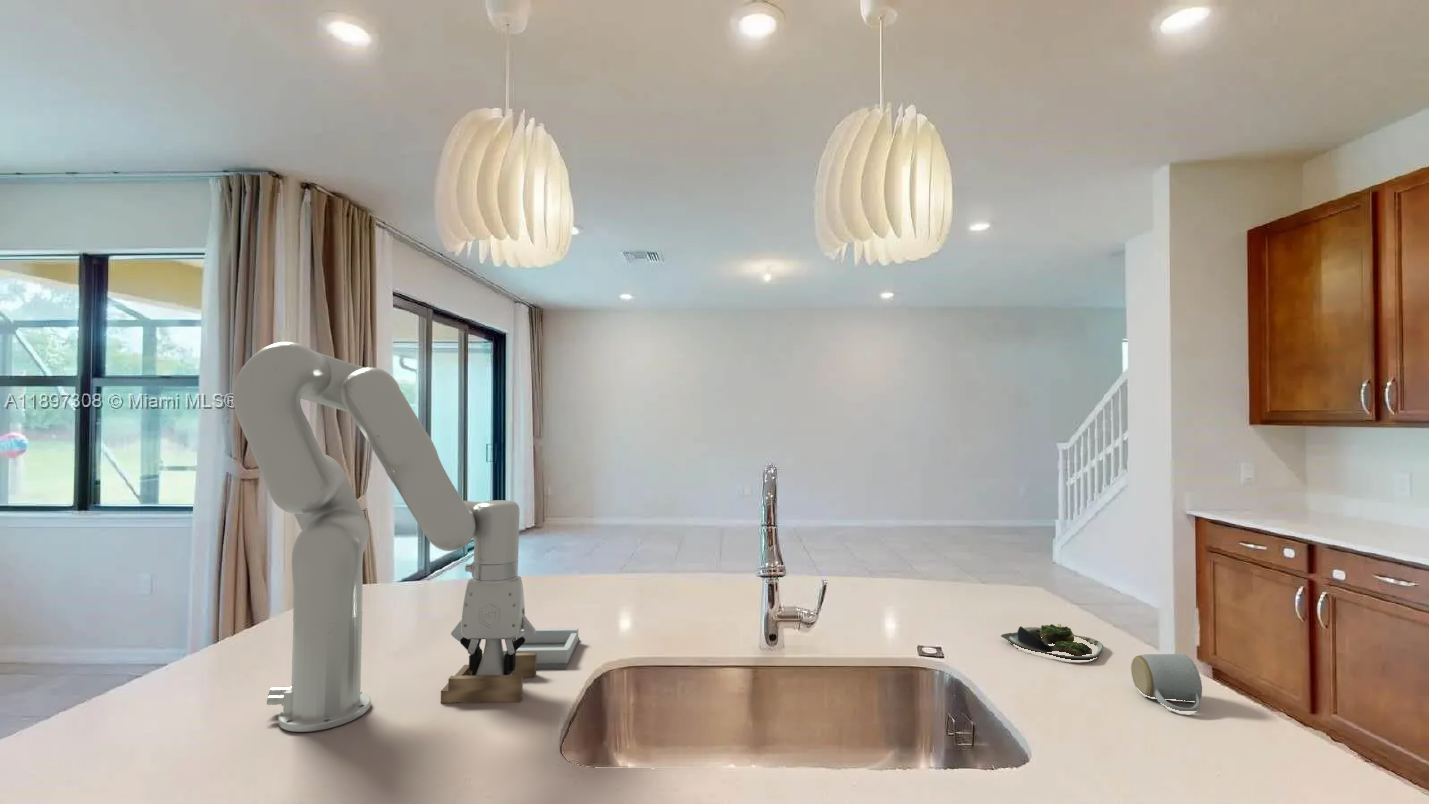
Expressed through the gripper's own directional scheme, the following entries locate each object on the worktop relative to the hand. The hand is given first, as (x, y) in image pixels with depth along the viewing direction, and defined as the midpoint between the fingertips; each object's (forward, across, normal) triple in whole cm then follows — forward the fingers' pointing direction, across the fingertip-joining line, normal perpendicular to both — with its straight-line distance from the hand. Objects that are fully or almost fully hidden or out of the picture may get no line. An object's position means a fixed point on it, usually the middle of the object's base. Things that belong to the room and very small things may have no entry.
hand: (492, 673), depth 110 cm
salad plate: (+2, +112, +16) cm, 114 cm away
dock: (+2, +4, +16) cm, 17 cm away
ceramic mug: (+2, +117, -10) cm, 118 cm away
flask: (+3, 0, 0) cm, 3 cm away
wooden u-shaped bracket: (+3, 0, 0) cm, 3 cm away
